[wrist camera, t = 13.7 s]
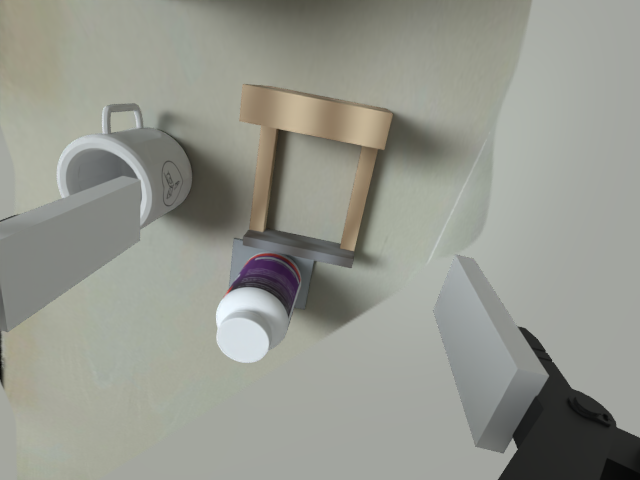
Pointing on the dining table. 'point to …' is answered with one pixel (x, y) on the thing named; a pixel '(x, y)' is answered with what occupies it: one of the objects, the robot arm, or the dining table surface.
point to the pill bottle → (258, 307)
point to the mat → (245, 253)
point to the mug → (128, 164)
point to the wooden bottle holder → (321, 121)
